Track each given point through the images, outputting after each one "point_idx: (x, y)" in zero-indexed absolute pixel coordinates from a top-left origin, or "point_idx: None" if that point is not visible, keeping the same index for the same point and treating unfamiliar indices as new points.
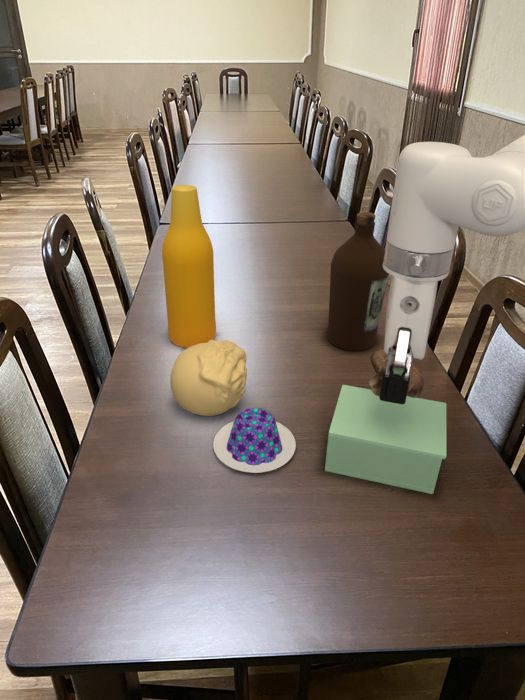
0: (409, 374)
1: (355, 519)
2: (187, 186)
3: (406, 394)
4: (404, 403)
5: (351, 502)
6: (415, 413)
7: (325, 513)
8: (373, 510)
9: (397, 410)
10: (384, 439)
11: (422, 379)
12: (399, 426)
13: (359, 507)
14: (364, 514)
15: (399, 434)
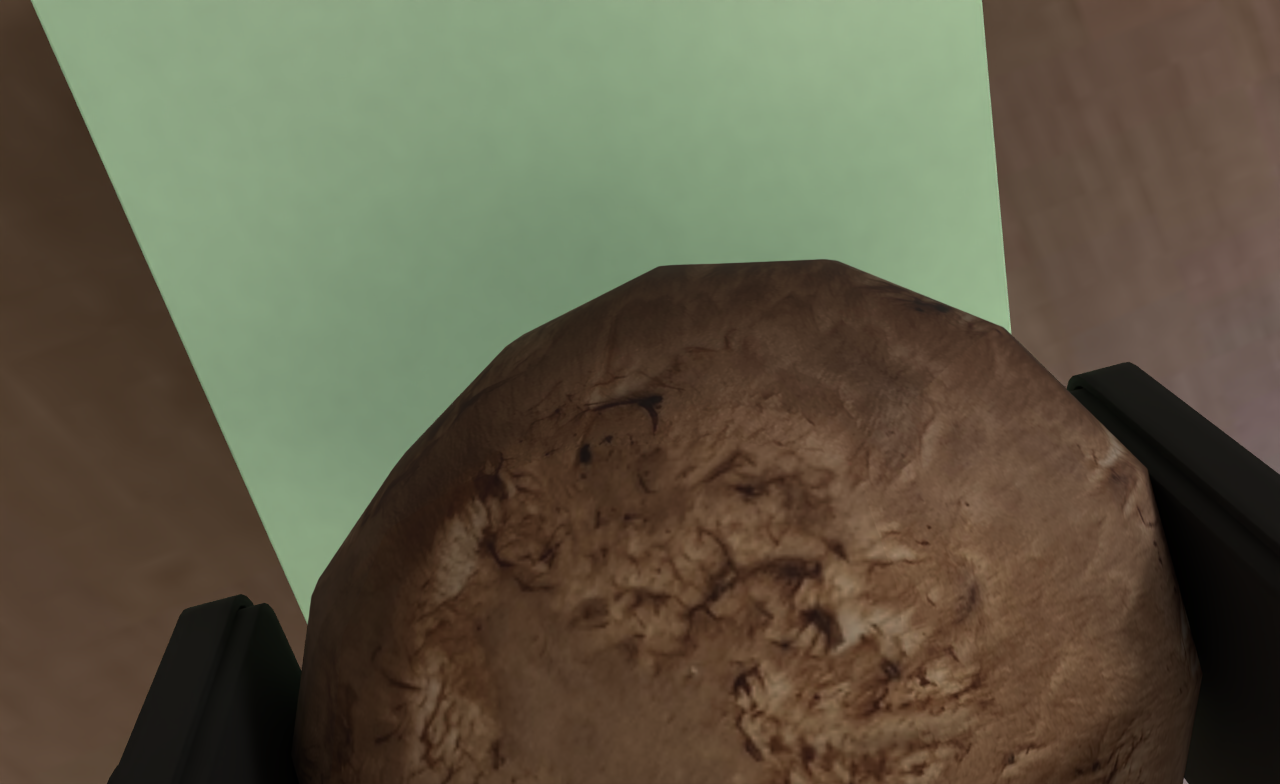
0: (1084, 610)
1: (1206, 171)
2: None
3: (1208, 427)
4: (1127, 364)
5: (1087, 242)
6: (427, 178)
7: (1213, 330)
8: (1103, 103)
9: (485, 342)
10: (953, 296)
11: (805, 364)
12: (716, 246)
13: (1109, 186)
14: (1152, 140)
15: (830, 208)
